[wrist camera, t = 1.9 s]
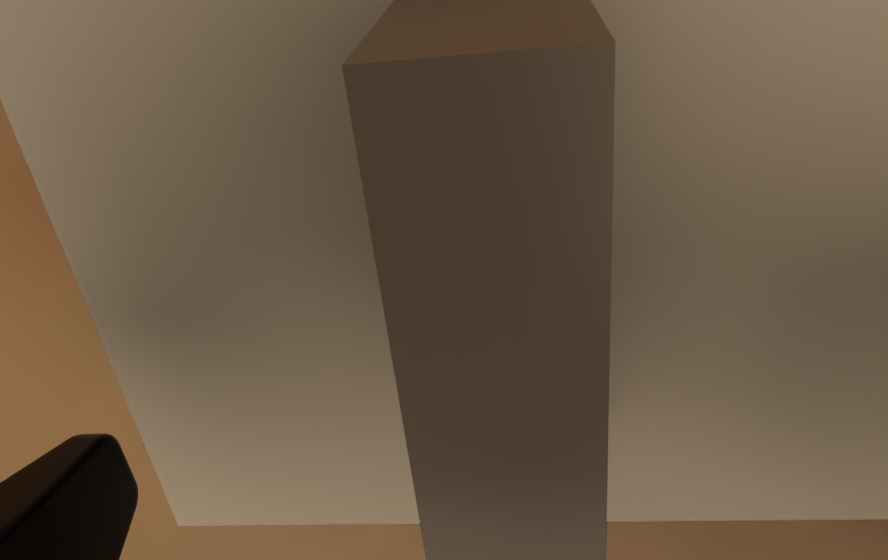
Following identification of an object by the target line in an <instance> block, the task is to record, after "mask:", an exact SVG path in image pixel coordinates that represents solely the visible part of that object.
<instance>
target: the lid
mask: <svg viewBox="0 0 888 560" xmlns="http://www.w3.org/2000/svg"><path fill="white" fill-rule="evenodd" d="M0 100H1V102H2V104H3V107H4V109H5V112H6V114H7V116H8V119H9V121H10V124H11V126H12V128H13V131H14V133H15V136H16V138H17V140H18V143H19V145H20V148H21V150H22V152H23V155H24V157H25V160H26V162H27V164H28V167H29V169H30V172H31V174H32V176H33V179H34V181H35V184H36V186H37V188H38V191H39V193H40V196H41V198H42V200H43V203H44V205H45V208H46V210H47V212H48V215H49V217H50V220H51V222H52V224H53V227H54V229H55V232H56V234H57V236H58V239H59V241H60V243H61V246H62V248H63V251H64V253H65V255H66V258H67V260H68V263H69V265H70V267H71V270H72V272H73V275H74V277H75V279H76V282H77V284H78V287H79V289H80V291H81V294H82V296H83V299H84V301H85V303H86V306H87V308H88V311H89V313H90V315H91V318H92V320H93V323H94V325H95V327H96V330H97V332H98V335H99V337H100V339H101V342H102V344H103V347H104V349H105V351H106V354H107V356H108V359H109V361H110V363H111V366H112V368H113V371H114V373H115V375H116V378H117V380H118V383H119V385H120V387H121V390H122V392H123V395H124V397H125V399H126V402H127V404H128V407H129V409H130V411H131V414H132V416H133V419H134V421H135V423H136V426H137V428H138V431H139V433H140V435H141V438H142V440H143V443H144V445H145V447H146V450H147V452H148V455H149V457H150V459H151V462H152V464H153V467H154V469H155V471H156V474H157V476H158V478H159V481H160V483H161V486H162V488H163V490H164V493H165V495H166V498H167V500H168V502H169V505H170V507H171V510H172V512H173V514H174V517H175V519H176V522H177V524H178V526H216V525H322V524H420V526H421V532H422V538H423V544H424V550H425V555H426V560H606V537H607V522H639V521H744V520H850V519H888V0H0Z"/></svg>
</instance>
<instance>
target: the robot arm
mask: <svg viewBox="0 0 888 560" xmlns="http://www.w3.org/2000/svg"><path fill="white" fill-rule="evenodd" d="M137 501H138V488H137V483H136V481H135V478H134V476H133V474H132V472H131V469H130V467H129V465H128V463H127V460H126V458H125V456H124V453H123V451H122V449H121V447H120V444H119V442H118V441H117V439H115V438H114V437H113V436H112V435H109V434H81V435H76V436H73V437H71V438H69V439H68V440H66V441H65V442H63V443H62V444H60V445H58V446H57V447H55V448H54V449H52V450H51V451H49V452H48V453H46V454H44V455H43V456H41V457H40V458H38V459H37V460H35V461H34V462H32V463H30V464H29V465H27V466H26V467H24V468H23V469H21V470H20V471H18V472H16V473H15V474H13V475H12V476H10V477H9V478H7V479H6V480H4V481H2V482H1V483H0V560H119V558H120V555H121V552H122V549H123V546H124V543H125V540H126V537H127V534H128V531H129V528H130V525H131V522H132V519H133V516H134V512H135V509H136V506H137Z"/></svg>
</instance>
